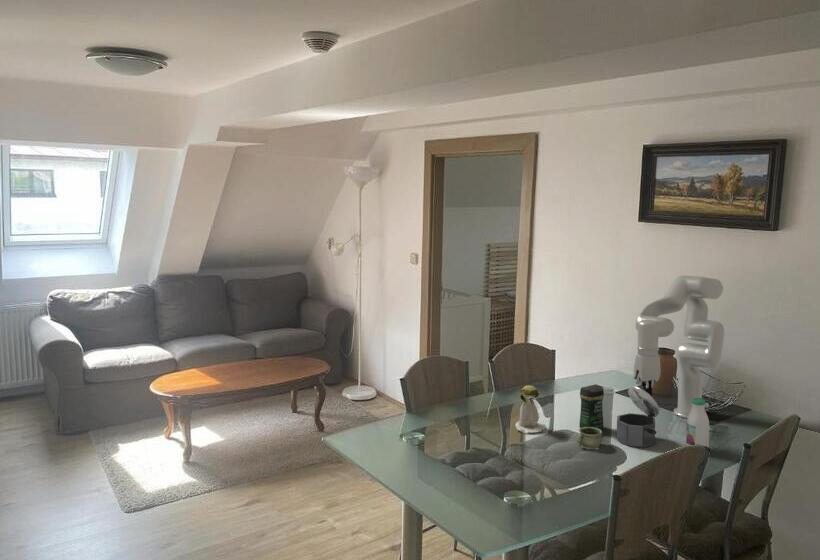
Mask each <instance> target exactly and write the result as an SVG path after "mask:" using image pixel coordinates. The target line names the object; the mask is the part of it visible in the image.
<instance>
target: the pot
mask: <svg viewBox="0 0 820 560" xmlns="http://www.w3.org/2000/svg"><path fill="white" fill-rule="evenodd" d="M616 417H617V418H616V440H617V442H619V443H620V444H622V445H624V446H627V447H632V448H648V447H652V446H654V445H655V444H656V434H657V431H656V418H655V417H653V418H652V417H649V416H648V415H647V414H642V413H630V412H629V413H623V414H620V415H617V416H616Z"/></svg>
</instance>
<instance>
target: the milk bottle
mask: <svg viewBox="0 0 820 560" xmlns="http://www.w3.org/2000/svg"><path fill="white" fill-rule="evenodd" d="M705 403H706V400H705V399H704V398H693V399H692V409H691V411H690V413H689V415H688V418H686V431H685V432H686V435H685V436H686V439H685V442H686V443H685V444H686V445H695V444H700V445H704V446H707V447H709V446H710V445H709V444H710V420H709V417H708V414H707V411H706V408H704V406H705ZM686 445H685V446H686ZM709 448H710V447H709Z"/></svg>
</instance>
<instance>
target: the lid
mask: <svg viewBox="0 0 820 560" xmlns="http://www.w3.org/2000/svg"><path fill="white" fill-rule="evenodd" d="M627 393H628V395H629V398H630V399H631V402H632V403H633V404H634V405H635V406H636V407H637V409H639V410H640V411H641V412H642V413H644V415H647V416H649V417H652V418H653V417H654V418H655V417H656V418H657V417H658V416H659V415H660V413H661V411H660V410H661V409H660V406H659V404H658V403H657V401H656V400H655V399H654V397H653V395H652V396H651V395H650V394H648V393H647V392H646V391H645V390H643V387H642V388H641V387H640V386H637V385H631V386H630V387H629V388H628V390H627Z"/></svg>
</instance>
